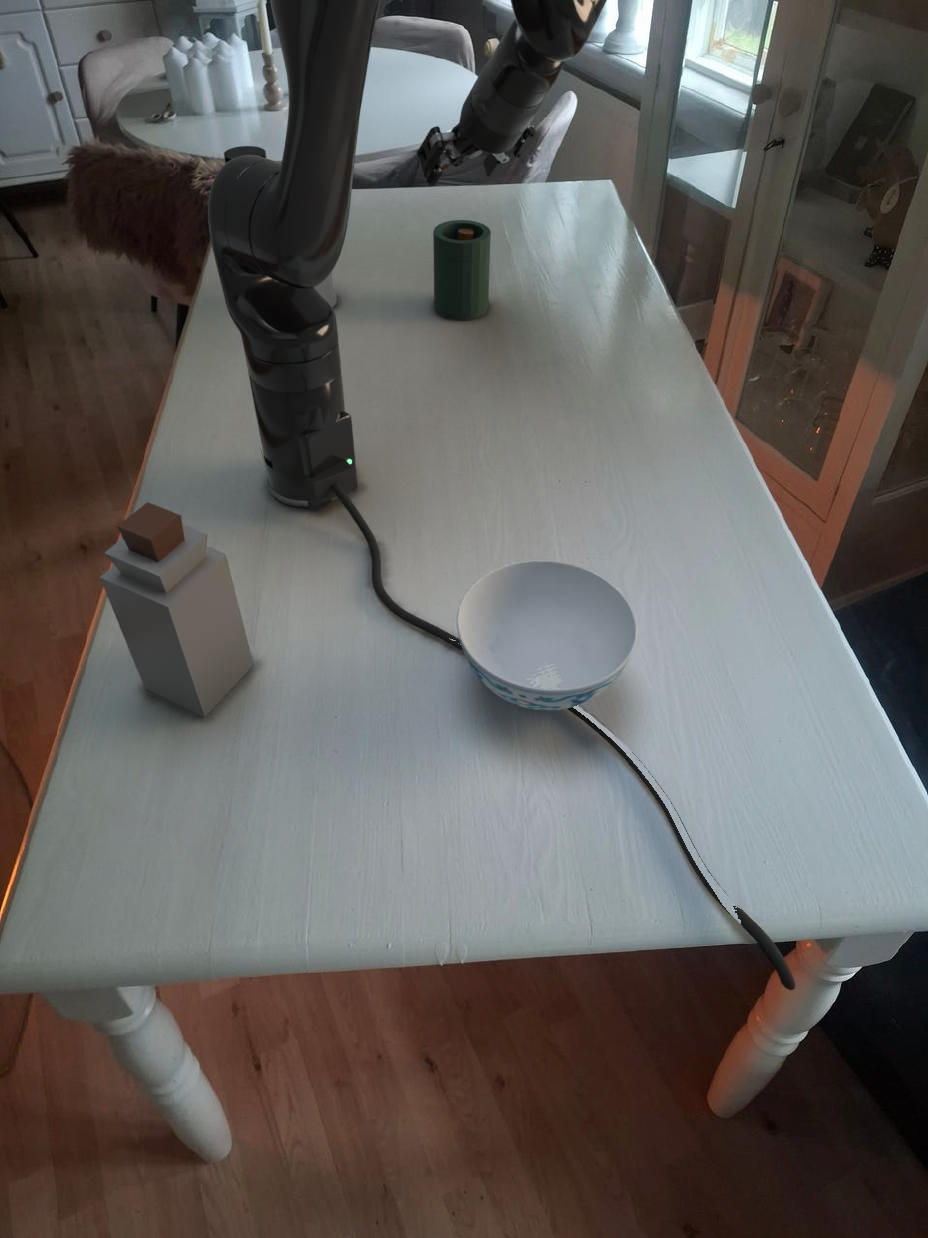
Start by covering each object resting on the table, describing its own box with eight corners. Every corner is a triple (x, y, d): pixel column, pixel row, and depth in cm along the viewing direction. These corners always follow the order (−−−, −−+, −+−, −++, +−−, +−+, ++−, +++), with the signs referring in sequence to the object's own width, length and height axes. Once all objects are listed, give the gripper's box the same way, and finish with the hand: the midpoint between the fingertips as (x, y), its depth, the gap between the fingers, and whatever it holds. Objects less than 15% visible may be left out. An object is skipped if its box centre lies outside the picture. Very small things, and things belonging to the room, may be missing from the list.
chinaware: (522, 596, 84) (528, 537, 79) (655, 672, 78) (671, 612, 72) (421, 687, 76) (419, 628, 71) (560, 780, 70) (570, 722, 64)
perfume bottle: (144, 688, 76) (81, 532, 63) (195, 638, 80) (145, 482, 67) (205, 717, 74) (152, 562, 61) (253, 664, 78) (214, 509, 65)
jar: (498, 307, 126) (502, 231, 118) (461, 325, 122) (462, 248, 114) (460, 290, 130) (461, 214, 122) (423, 307, 126) (421, 230, 118)
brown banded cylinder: (472, 303, 125) (477, 231, 119) (461, 307, 124) (466, 234, 118) (461, 298, 127) (465, 227, 120) (450, 302, 125) (454, 230, 119)
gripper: (548, 61, 100) (497, 139, 116) (437, 74, 96) (400, 153, 111) (566, 125, 101) (514, 194, 116) (457, 141, 96) (417, 210, 112)
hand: (458, 174), depth 114 cm, fingers open, 8 cm apart
